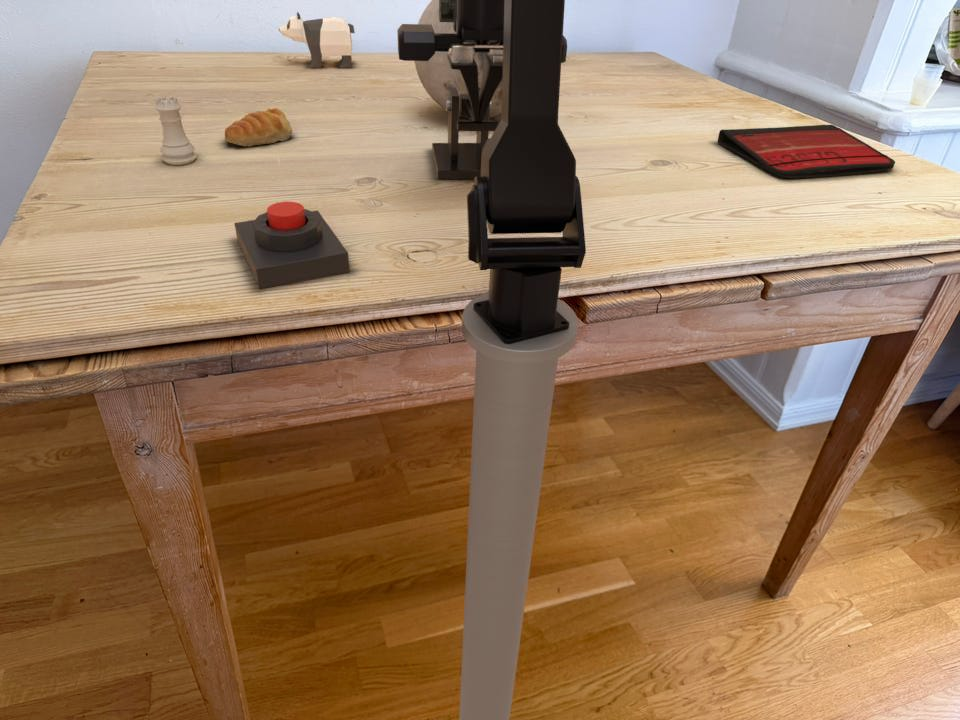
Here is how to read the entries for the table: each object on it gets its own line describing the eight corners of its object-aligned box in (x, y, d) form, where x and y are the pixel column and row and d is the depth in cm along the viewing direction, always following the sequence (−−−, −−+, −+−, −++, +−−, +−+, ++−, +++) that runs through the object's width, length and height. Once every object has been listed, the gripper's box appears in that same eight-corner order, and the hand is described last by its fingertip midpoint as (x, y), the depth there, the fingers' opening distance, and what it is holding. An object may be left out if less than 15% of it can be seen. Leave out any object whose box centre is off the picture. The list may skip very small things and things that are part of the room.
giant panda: (356, 61, 140) (353, 10, 135) (357, 68, 136) (353, 15, 130) (283, 61, 138) (277, 9, 132) (282, 68, 133) (275, 14, 128)
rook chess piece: (163, 167, 89) (148, 105, 84) (161, 156, 92) (146, 95, 88) (198, 163, 91) (186, 102, 86) (195, 152, 94) (183, 93, 89)
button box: (349, 272, 69) (346, 236, 66) (259, 289, 65) (253, 251, 63) (319, 228, 76) (316, 194, 74) (237, 241, 73) (231, 206, 71)
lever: (498, 137, 82) (499, 117, 81) (457, 137, 82) (458, 116, 80) (485, 112, 92) (486, 94, 91) (449, 112, 91) (449, 93, 90)
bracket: (504, 178, 91) (509, 103, 85) (437, 179, 90) (438, 103, 84) (493, 150, 100) (496, 81, 94) (432, 151, 98) (432, 80, 93)
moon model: (393, 123, 108) (388, -19, 96) (444, 93, 123) (445, -33, 112) (510, 143, 103) (520, -5, 91) (548, 109, 118) (561, -21, 106)
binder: (719, 127, 105) (832, 122, 110) (715, 142, 107) (826, 136, 112) (781, 169, 93) (904, 160, 98) (775, 185, 95) (897, 176, 100)
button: (309, 229, 68) (308, 212, 67) (273, 234, 67) (271, 218, 66) (300, 215, 71) (298, 199, 70) (265, 220, 69) (263, 204, 68)
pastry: (242, 152, 95) (237, 125, 92) (215, 141, 98) (210, 114, 96) (297, 138, 101) (294, 111, 98) (270, 127, 104) (266, 102, 102)
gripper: (553, -34, 80) (541, 102, 89) (394, -39, 77) (398, 101, 87) (575, -21, 71) (559, 129, 80) (396, -27, 69) (401, 129, 78)
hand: (478, 121), depth 81 cm, fingers closed
